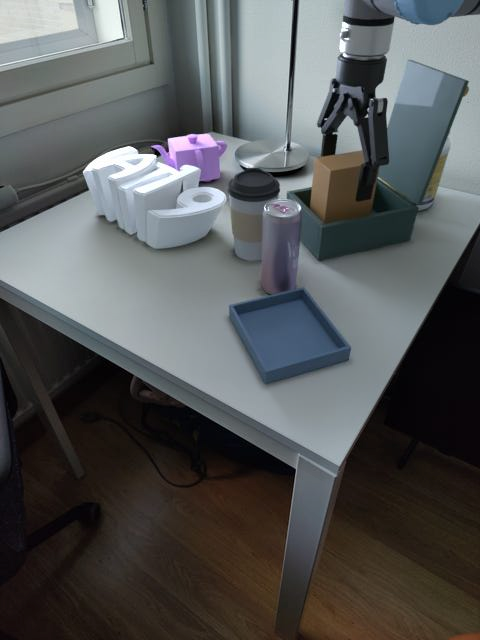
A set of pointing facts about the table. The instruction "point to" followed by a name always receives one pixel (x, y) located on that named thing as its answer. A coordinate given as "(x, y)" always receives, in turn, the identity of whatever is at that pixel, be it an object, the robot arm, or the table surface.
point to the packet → (338, 188)
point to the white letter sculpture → (152, 198)
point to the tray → (288, 334)
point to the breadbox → (357, 224)
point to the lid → (420, 127)
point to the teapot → (195, 154)
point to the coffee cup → (250, 209)
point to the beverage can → (280, 245)
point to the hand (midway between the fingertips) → (343, 183)
